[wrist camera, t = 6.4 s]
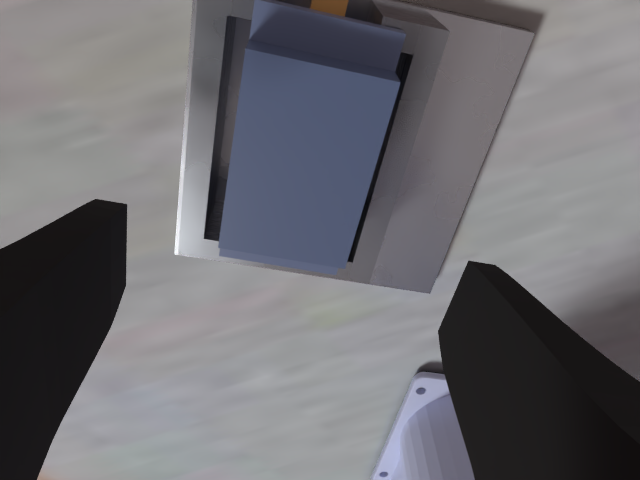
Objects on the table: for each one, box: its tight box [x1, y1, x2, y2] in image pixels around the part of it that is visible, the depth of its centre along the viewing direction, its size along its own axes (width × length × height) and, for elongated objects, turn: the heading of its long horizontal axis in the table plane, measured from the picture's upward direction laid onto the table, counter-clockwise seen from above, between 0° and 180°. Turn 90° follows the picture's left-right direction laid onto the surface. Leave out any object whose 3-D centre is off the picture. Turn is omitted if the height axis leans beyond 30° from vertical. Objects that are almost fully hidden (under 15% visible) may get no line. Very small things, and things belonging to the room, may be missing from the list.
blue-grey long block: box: [218, 0, 406, 275], centre depth 17 cm, size 9×4×4 cm, turn 168°
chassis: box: [175, 0, 535, 294], centre depth 18 cm, size 11×11×4 cm
